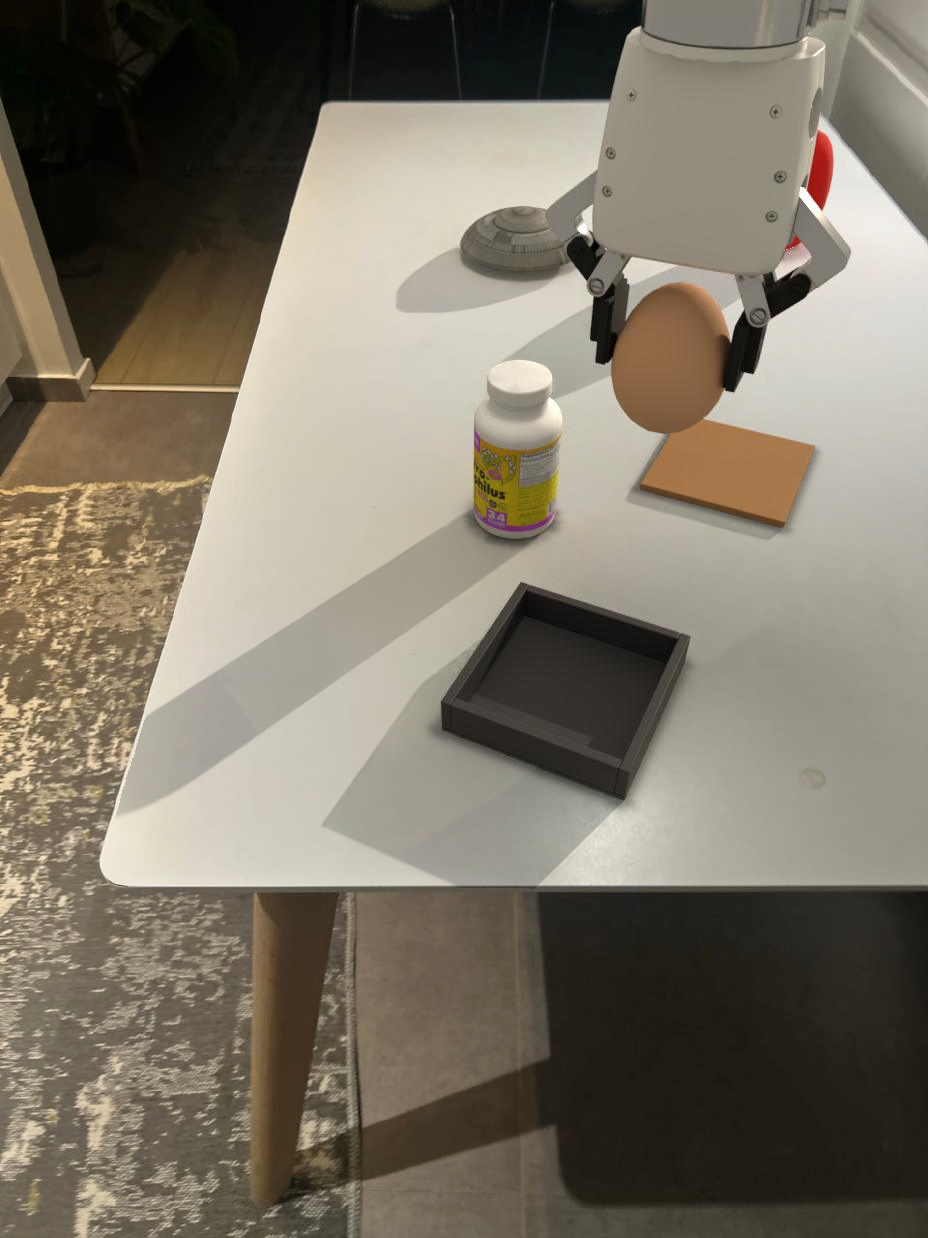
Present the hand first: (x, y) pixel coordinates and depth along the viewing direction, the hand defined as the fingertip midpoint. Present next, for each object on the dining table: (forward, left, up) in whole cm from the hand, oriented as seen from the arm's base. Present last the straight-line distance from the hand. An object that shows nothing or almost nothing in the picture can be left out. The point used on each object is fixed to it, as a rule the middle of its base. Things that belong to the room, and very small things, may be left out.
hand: (670, 364), depth 53 cm
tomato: (+6, -68, -20) cm, 71 cm away
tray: (+1, +10, -20) cm, 22 cm away
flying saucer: (+32, -53, -20) cm, 65 cm away
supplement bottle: (+12, -6, -20) cm, 24 cm away
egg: (0, 0, -4) cm, 4 cm away
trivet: (-2, -20, -20) cm, 28 cm away
